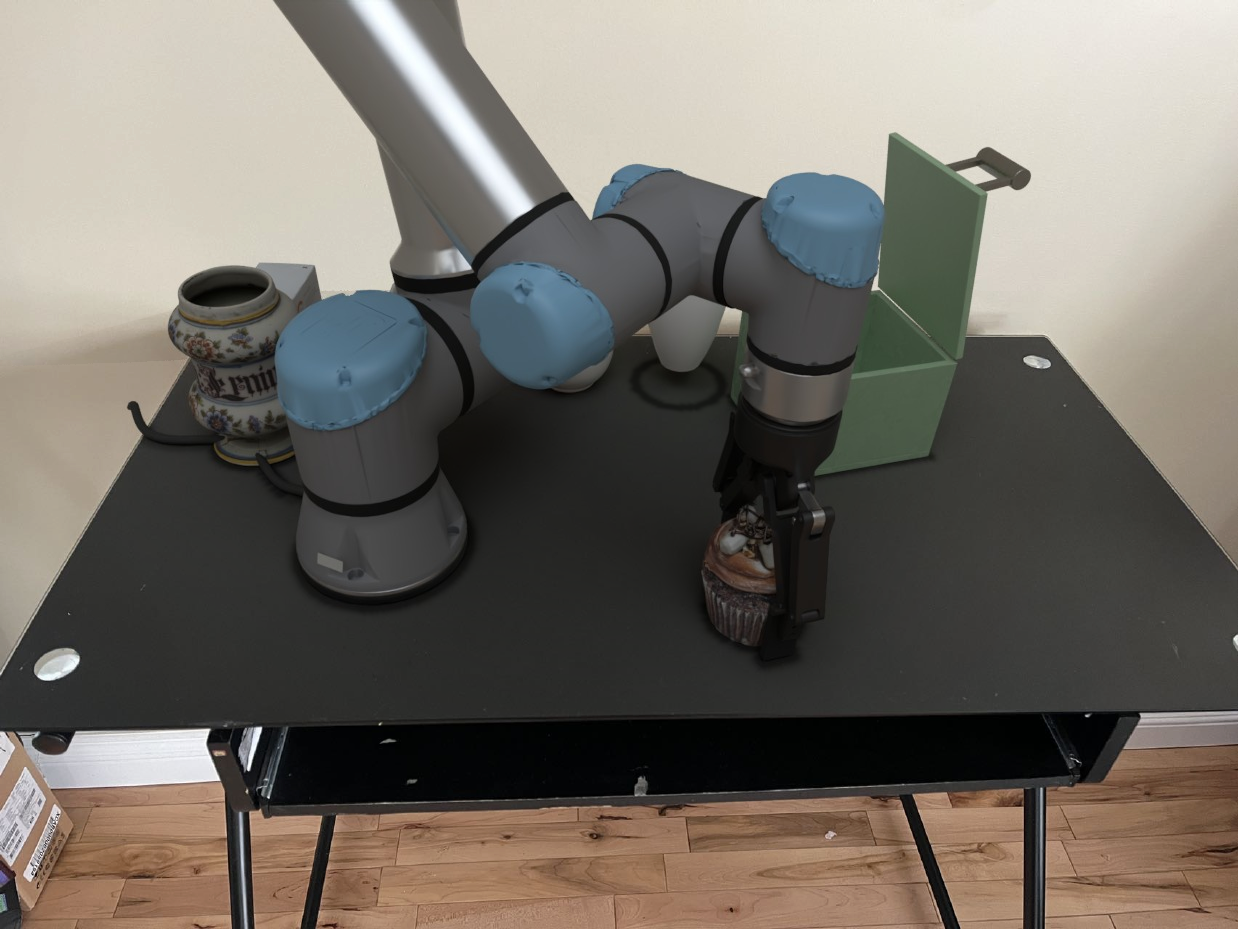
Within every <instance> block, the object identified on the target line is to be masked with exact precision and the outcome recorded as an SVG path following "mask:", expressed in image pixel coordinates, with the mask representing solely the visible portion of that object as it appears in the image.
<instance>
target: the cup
mask: <svg viewBox="0 0 1238 929" xmlns="http://www.w3.org/2000/svg"><path fill="white" fill-rule="evenodd" d="M726 308H727V307H725V306H722V305H720V304H717V303H714V302H711V301H708V300H705V299H702V298H699V297H696V296H693V295H690V296H688V297H686V298H685V299H684V300H682V301H681V302H680V303H678V304H677V305H675V306H674V307H673V308H671V309H670V310H668V311H667V312H666V313H664V314H663V315H661V316H660V317H659V318H657V319H656V320H654V321H652V322H650V323H649V324H647V327H648V329H649V333H650V337H651V340H652V343H653V347H654V349H655V352H656V355H657V357H658V360H659V362H660V364H661V365H662V367H664V368H665V369H668V370H670V371H673V372H678V373H684V372H685V373H686V372H690V371H693V370H695V369H697V368H698V367H699V366H700V365H701V363H702V362H703V360H704V358H705V357H706V355H707V354H708V352H709V350H710V348H711V346H712V344H713V341H714V340H715V338H716V336H717V334H718V332H719V331H718V330H719V328H720V325H721V322H722V320H723V316H724V313H725V311H726Z"/></svg>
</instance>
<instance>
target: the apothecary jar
mask: <svg viewBox="0 0 1238 929" xmlns="http://www.w3.org/2000/svg"><path fill="white" fill-rule="evenodd" d="M177 298H178V304H177V305H176V306H175V307H174V309H172V312H171V314H170V315H169V319H168V323H167V332H168V337H169V339H170V341H171V343H172V344H173V345H174V347H175V348H176V349H177V350H178V351H180V352H181V353H182V354H183V355H185V356H187V357H189V358H190V361H191V363H192V367H193V371H194V376H195V379H194V381H193V382H192V384H191V386H190V389H189V392H188V407H189V410H190V412H191V414H192V416H193V417H194V419H195V420H196V422H198V423H199V424H200V425H201V426H202V427H204V428H206V429H207V430H208V431H211V432H214V433H216V434H215V435H222V436H225V439H224V440H221V441H218V442H216V443H214V444H213V447H214V452H215V453H216V454H217V455H218V456H219V458H221V459H222V460H224V461H226V462H228V463H230V464H233V465H237V466H242V467H243V466H244V467H260V466H259V465H258V463H257V460H256V456H255V454H256V453H259V454H261V455H263V456H264V457H265V458H266V459H267V461H268V462H269V464H270V465H273V464H278V463H280V462H283V461H286V460H288V459H290V458H291V457H293V456H295V452H294V448H293V444H292V440H291V436H290V432H289V428H288V424H287V420H286V416H285V412H284V411H283V409H282V407H281V404H280V402H279V398H278V393H277V385H278V383H277V375H276V368H275V350H276V345H277V342H278V339H279V337H280V335H281V333H282V331H283V330H284V329H285V327H286V326H287V325H288V323H289V322H290V321H291V320H292V319H293V318H294V317H295V316H297V315H298V314H299V312H298V309H297V307H296V305H295V303H294V302H293V301H292V299H291V298H290V297H289V296H287V295H286V294H285V293H284V292H282V291H280V290H278V289H276V287H275V284H274V281H273V279H272V278H271V276H270V275H269V274H268V273H266V272H265V271H263V270H260V269H258V268H256V267H254V266H248V265H247V266H246V265H235V264H233V265H220V266H214V267H210V268H207V269H203V270H201V271H198V272H196V273H194V274H192V275H191V276H189V277H187V278H186V279H185V280H183V281H182V283H181V284H180V285H179V287H178V289H177Z"/></svg>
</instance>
